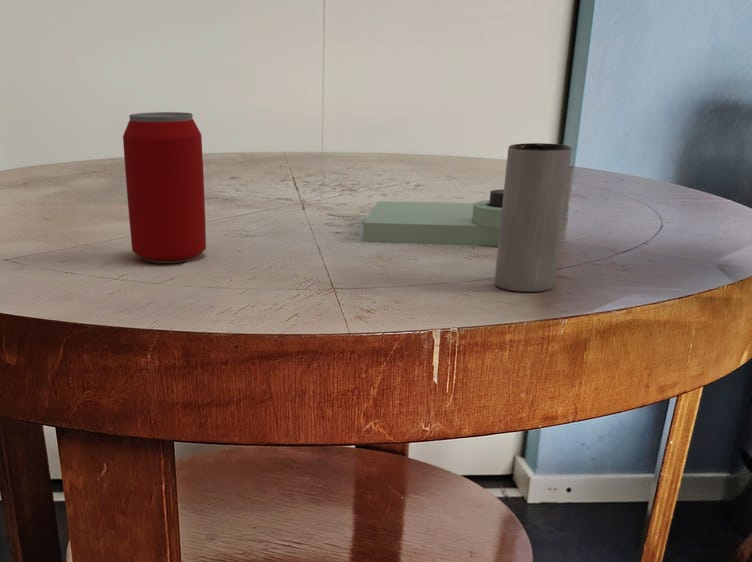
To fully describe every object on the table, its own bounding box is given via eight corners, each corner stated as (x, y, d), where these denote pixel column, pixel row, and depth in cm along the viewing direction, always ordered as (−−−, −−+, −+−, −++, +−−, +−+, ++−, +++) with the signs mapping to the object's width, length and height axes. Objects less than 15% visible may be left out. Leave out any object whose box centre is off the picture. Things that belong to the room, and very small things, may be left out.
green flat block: (526, 223, 95) (530, 188, 94) (532, 249, 83) (537, 210, 82) (377, 219, 98) (378, 185, 97) (361, 244, 86) (363, 206, 85)
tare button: (518, 206, 86) (520, 189, 85) (519, 211, 83) (521, 194, 83) (488, 206, 86) (490, 189, 86) (488, 210, 84) (490, 193, 83)
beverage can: (184, 247, 86) (177, 110, 80) (220, 259, 81) (215, 114, 75) (120, 255, 83) (107, 114, 77) (153, 269, 78) (142, 118, 72)
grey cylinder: (563, 285, 71) (583, 145, 66) (534, 295, 68) (552, 150, 64) (513, 276, 74) (528, 141, 69) (483, 285, 71) (496, 146, 66)
